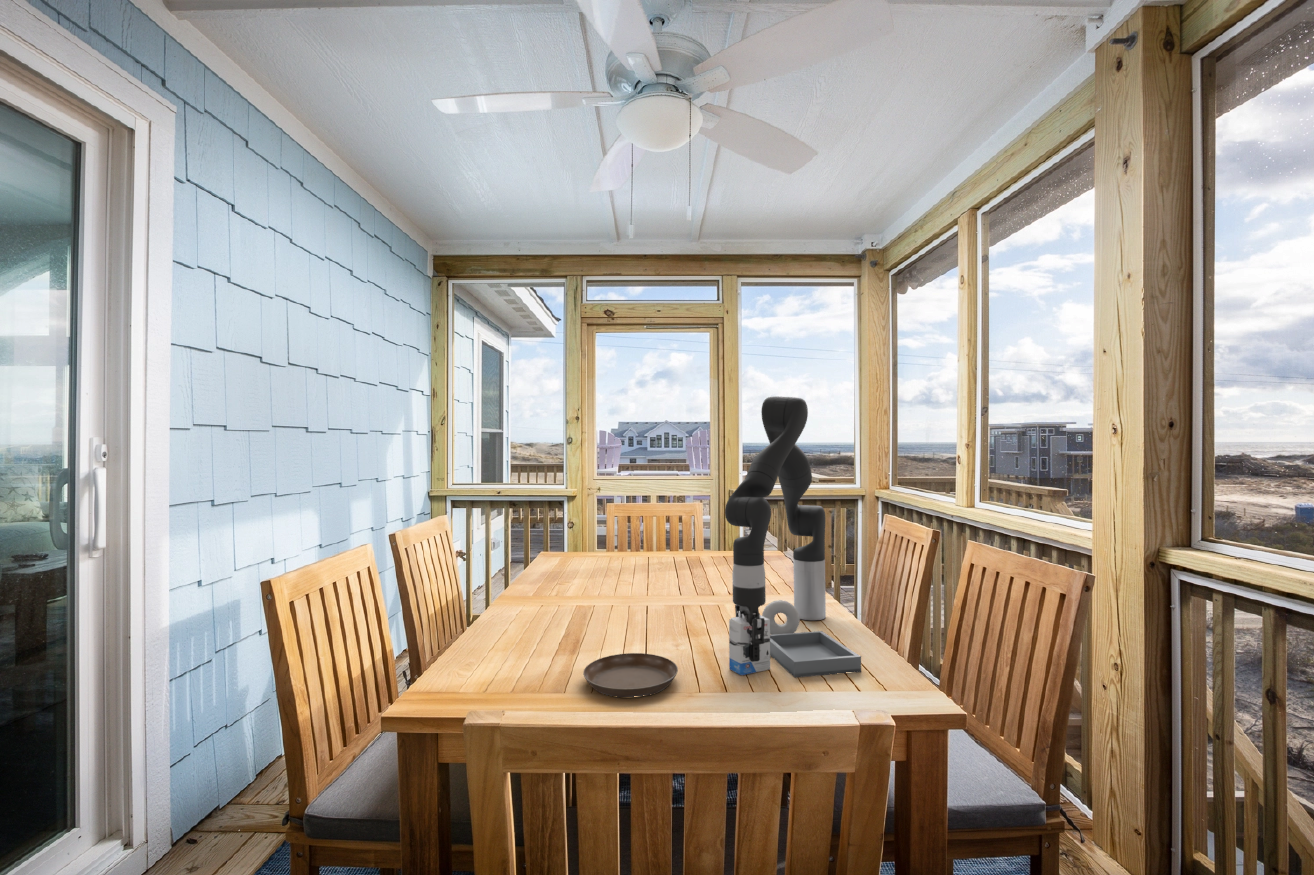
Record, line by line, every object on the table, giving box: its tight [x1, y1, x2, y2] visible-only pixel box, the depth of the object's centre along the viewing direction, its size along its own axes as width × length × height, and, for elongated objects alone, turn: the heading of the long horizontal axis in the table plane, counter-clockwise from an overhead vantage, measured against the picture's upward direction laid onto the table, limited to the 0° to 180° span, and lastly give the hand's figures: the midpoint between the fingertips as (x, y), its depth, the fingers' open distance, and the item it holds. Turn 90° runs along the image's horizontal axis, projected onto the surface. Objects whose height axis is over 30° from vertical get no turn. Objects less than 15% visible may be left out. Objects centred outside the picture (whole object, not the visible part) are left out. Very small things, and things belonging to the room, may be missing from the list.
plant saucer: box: [582, 652, 679, 698], centre depth 137 cm, size 21×21×3 cm
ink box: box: [728, 614, 771, 676], centre depth 144 cm, size 8×5×12 cm, turn 117°
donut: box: [761, 599, 801, 635], centre depth 168 cm, size 10×4×10 cm, turn 81°
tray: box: [770, 630, 862, 679], centre depth 150 cm, size 20×16×4 cm
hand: (749, 655), depth 144 cm, fingers closed on ink box, 6 cm apart
